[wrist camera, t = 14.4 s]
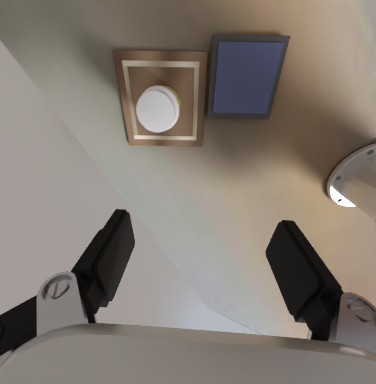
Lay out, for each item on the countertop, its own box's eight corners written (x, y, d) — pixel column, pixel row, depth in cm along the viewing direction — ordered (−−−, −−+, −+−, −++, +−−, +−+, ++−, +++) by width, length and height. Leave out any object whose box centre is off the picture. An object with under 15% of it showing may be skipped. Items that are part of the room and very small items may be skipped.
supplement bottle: (168, 129, 26) (160, 145, 19) (142, 107, 24) (123, 116, 17) (188, 102, 24) (187, 109, 17) (161, 76, 22) (148, 73, 15)
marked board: (207, 52, 21) (207, 51, 21) (201, 145, 28) (201, 146, 27) (114, 51, 21) (112, 50, 21) (130, 143, 28) (129, 145, 27)
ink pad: (285, 38, 20) (291, 34, 19) (265, 117, 25) (269, 119, 24) (212, 37, 20) (213, 33, 19) (206, 116, 25) (207, 117, 24)
